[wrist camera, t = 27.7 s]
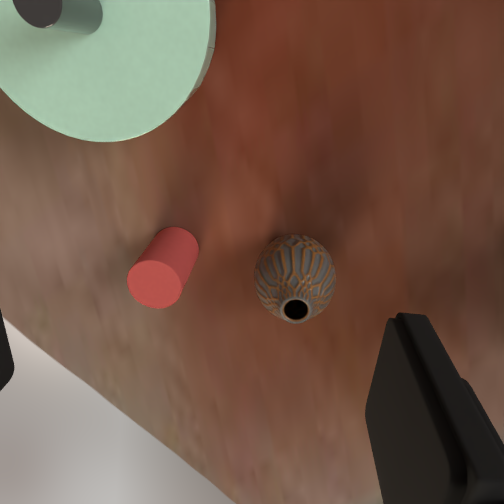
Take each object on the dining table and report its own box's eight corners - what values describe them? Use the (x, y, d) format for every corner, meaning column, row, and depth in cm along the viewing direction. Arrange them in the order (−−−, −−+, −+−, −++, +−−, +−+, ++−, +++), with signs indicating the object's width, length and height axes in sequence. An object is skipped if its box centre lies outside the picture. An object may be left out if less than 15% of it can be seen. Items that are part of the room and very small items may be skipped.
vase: (329, 220, 35) (342, 265, 27) (332, 287, 38) (344, 346, 30) (252, 227, 36) (243, 272, 28) (261, 292, 39) (255, 350, 31)
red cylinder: (199, 270, 38) (182, 311, 32) (154, 266, 39) (128, 306, 32) (199, 228, 37) (181, 262, 30) (152, 224, 37) (124, 257, 30)
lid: (211, 147, 28) (193, 167, 23) (-2, 131, 29) (-70, 147, 24) (215, -146, 22) (191, -220, 16) (-62, -158, 22) (-178, -233, 17)
